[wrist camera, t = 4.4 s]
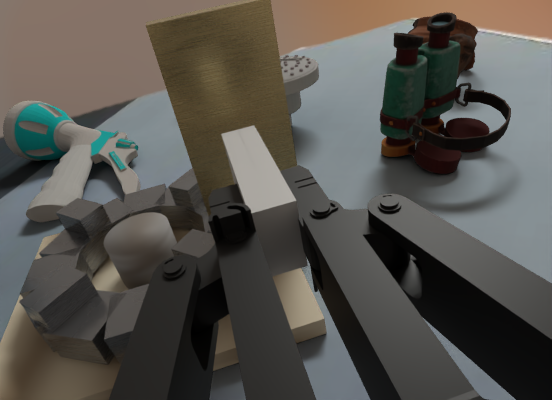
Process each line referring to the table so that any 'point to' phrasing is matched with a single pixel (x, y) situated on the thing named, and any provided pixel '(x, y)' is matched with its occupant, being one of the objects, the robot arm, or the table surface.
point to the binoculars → (432, 101)
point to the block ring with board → (168, 201)
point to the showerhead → (297, 79)
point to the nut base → (117, 278)
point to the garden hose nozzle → (65, 154)
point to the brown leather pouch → (461, 34)
